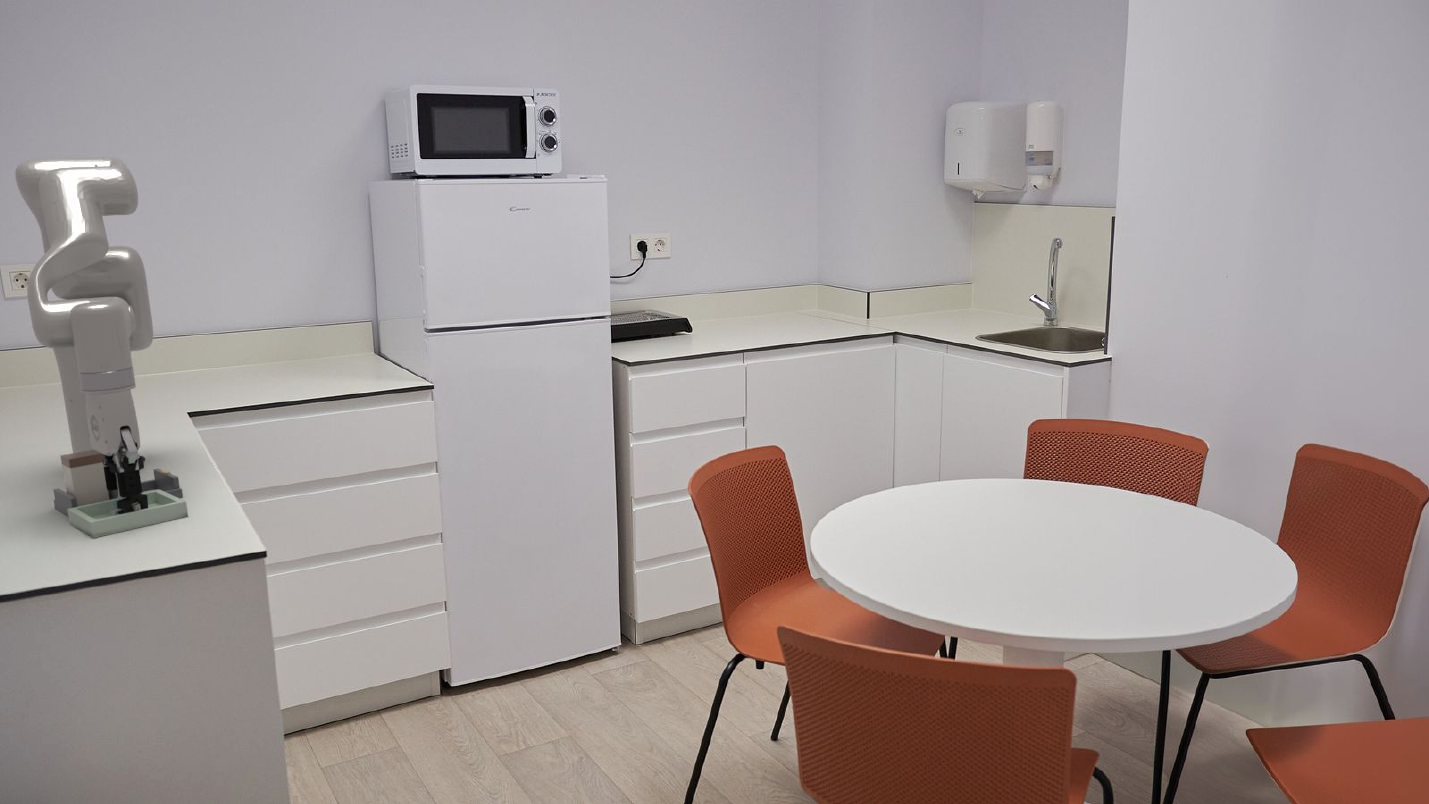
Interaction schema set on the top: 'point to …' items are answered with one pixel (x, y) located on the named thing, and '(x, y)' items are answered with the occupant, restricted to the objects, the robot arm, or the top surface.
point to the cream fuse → (85, 477)
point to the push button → (128, 502)
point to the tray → (126, 515)
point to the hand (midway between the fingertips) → (124, 490)
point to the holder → (161, 482)
